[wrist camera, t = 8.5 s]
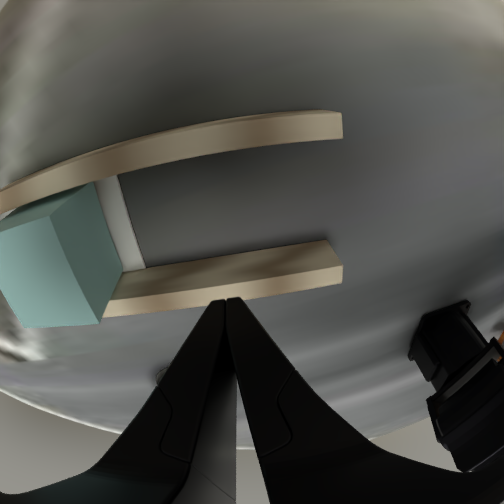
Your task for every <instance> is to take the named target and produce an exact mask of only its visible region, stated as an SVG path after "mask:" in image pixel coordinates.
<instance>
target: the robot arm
mask: <svg viewBox="0 0 504 504" xmlns="http://www.w3.org/2000/svg"><path fill="white" fill-rule="evenodd" d="M470 305H471V303H470V302H469V301H468V300H467V301H464V302H461V303H458V304H456V305H453V306H450V307H447V308H444V309H441V310H438V311H435V312H432V313H429V314H426V315H425V316H423V318H422V319H421V322H420V325H419V328H418V331H417V334H416V337H415V340H414V342H413V345H412V348H411V350H410V353H409V355H408V358H409V360H410V361H413V360H415V361H416V363H417V365H418V367H419V369H420V370H421V372H422V374H423V376H424V378H425V379H426V381H428V382H429V381H431V383H432V384H433V386H434V388H435V390H436V393H435V394H433V395H432V396H430V397H428V398H427V399H426V402H427V405H428V411H429V414H430V417H431V421H432V424H433V428H434V431H435V435H436V439H437V442H438V443H441V444H442V446H443V447H444V448H445V449H447V450H448V451H450V452H451V454H452V457H453V459H454V462H455V465H456V467H457V469H459V470H460V471H462V472H455V471H449V470H446V469H442V468H438V467H435V466H431V465H427V464H424V463H421V462H418V461H414V460H411V459H408V458H405V457H402V456H399V455H396V454H393V453H390V452H388V451H386V450H384V449H382V448H380V447H378V446H376V445H375V444H373V443H372V442H371V441H369V440H368V439H367V438H365V437H364V436H363V435H362V434H361V433H359V432H358V431H357V430H356V429H355V428H354V427H352V426H351V425H350V424H349V423H348V422H347V421H345V420H344V419H343V418H342V417H341V416H340V415H339V414H338V413H336V412H335V411H334V410H333V409H332V408H331V407H330V406H329V405H328V404H327V403H326V402H325V401H323V400H322V399H321V398H320V397H319V396H318V395H317V394H316V393H315V391H314V390H313V389H312V388H311V387H310V386H309V385H308V383H307V382H306V381H305V380H304V379H303V377H302V376H301V375H300V374H299V372H298V371H297V370H295V368H294V366H293V365H292V364H291V363H290V361H289V360H288V359H287V357H286V356H285V355H284V354H283V352H282V351H281V350H280V348H279V347H278V346H277V345H276V343H275V342H274V341H273V339H272V338H271V337H270V335H269V334H268V333H267V332H266V330H265V329H264V328H263V326H262V325H261V324H260V322H259V321H258V320H257V318H256V317H255V316H254V314H253V313H252V312H251V310H250V309H249V308H248V306H247V305H246V304H245V302H244V301H243V300H242V298H241V297H232V298H227V299H226V300H225V299H218V300H213V301H211V302H210V303H209V305H208V306H207V308H206V309H205V311H204V313H203V314H202V316H201V317H200V319H199V320H198V322H197V323H196V325H195V326H194V328H193V330H192V331H191V333H190V334H189V336H188V337H187V339H186V340H185V342H184V344H183V345H182V347H181V348H180V350H179V351H178V353H177V354H176V356H175V358H174V359H173V361H172V362H171V364H170V365H169V367H168V368H167V370H166V372H165V373H164V375H163V376H162V378H161V379H160V381H159V383H158V384H157V385H158V386H156V387H155V389H154V390H153V392H152V393H151V395H150V396H149V398H148V399H147V401H146V402H145V404H144V405H143V407H142V408H141V410H140V411H139V412H138V414H137V415H136V416H135V418H134V419H133V420H132V421H131V423H130V424H129V425H128V427H127V428H126V429H125V430H124V431H123V433H122V434H121V435H120V436H119V437H118V439H117V440H116V441H115V442H114V443H113V445H112V446H111V447H110V448H109V450H108V451H107V452H106V453H105V454H104V456H103V457H102V458H101V459H100V460H99V461H98V462H97V463H96V464H95V465H94V466H92V467H91V468H90V469H88V470H87V471H85V472H83V473H81V474H78V475H76V476H73V477H71V478H68V479H65V480H62V481H60V482H57V483H54V484H51V485H48V486H45V487H42V488H39V489H35V490H32V491H29V492H25V493H20V494H5V493H2V492H0V504H236V502H235V501H236V408H237V381H238V385H239V389H240V393H241V397H242V401H243V405H244V409H245V413H246V416H247V420H248V424H249V428H250V431H251V435H252V439H253V442H254V446H255V450H256V453H257V457H258V460H259V464H260V467H261V471H262V475H263V478H264V482H265V486H266V490H267V494H268V498H269V502H270V504H504V347H503V346H502V345H501V344H500V343H499V341H498V340H497V339H496V338H495V337H493V338H492V339H491V340H490V342H489V343H488V342H487V341H486V340H485V338H484V337H483V336H482V334H481V333H480V332H479V330H478V329H477V328H476V326H475V325H474V324H473V323H472V321H471V320H470V319H469V318H468V316H467V313H468V310H469V308H470ZM500 356H501V357H502V358H501V360H500V361H499V362H498V363H497V362H496V360H497V359H498V358H499V357H500ZM469 471H473V472H469Z"/></svg>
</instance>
